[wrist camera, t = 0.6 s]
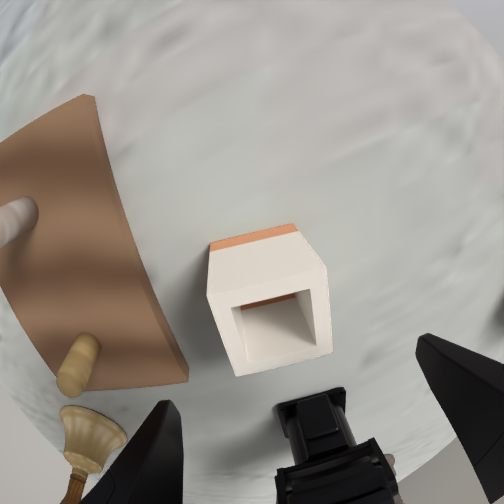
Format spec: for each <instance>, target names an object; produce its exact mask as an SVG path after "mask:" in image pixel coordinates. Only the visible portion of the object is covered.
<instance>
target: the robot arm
mask: <svg viewBox="0 0 504 504" xmlns="http://www.w3.org/2000/svg"><path fill="white" fill-rule="evenodd" d="M415 354H416V358H417V361H418V363H419V365H420V367H421V369H422V371H423V373H424V376H425V378H426V380H427V382H428V384H429V386H430V389H431V390H432V392H433V394H434V396H435V397H436V399H437V401H438V402H439V404H440V406H441V408H442V409H443V411H444V413H445V415H446V416H447V418H448V420H449V422H450V424H451V425H452V427H453V429H454V431H455V433H456V435H457V436H458V438H459V440H460V442H461V444H462V446H463V448H464V450H465V452H466V454H467V455H468V458H469V460H470V462H471V464H472V466H473V468H474V470H475V472H476V475H477V477H478V479H479V481H480V483H481V485H482V487H483V490H484V492H485V494H486V497H487V498H488V501H489V503H490V504H492V503H494V502H495V501H497V500H498V499H499V498H500V497H502V496H503V495H504V364H502V363H500V362H498V361H495V360H493V359H490V358H488V357H486V356H483V355H481V354H478V353H476V352H473V351H471V350H469V349H466V348H464V347H461V346H459V345H457V344H454V343H452V342H449V341H447V340H444V339H442V338H440V337H437V336H435V335H432V334H430V333H426V334H424V335H422V336H420V337H419V338H418V342H417V347H416V352H415ZM345 403H346V391H345V389H344V387H340V388H336V389H333V390H330V391H327V392H323V393H320V394H316V395H313V396H309V397H306V398H302V399H298V400H294V401H290V402H286V403H282V404H279V405H278V406H277V411H278V414H279V418H280V421H281V425H282V428H283V432H284V435H285V437H286V438H289V441H290V445H291V450H292V454H293V458H294V462H295V466H291V467H287V468H279V469H277V475H276V476H275V483H276V489H277V500H276V504H395V502H394V499H393V497H395V496H397V495H398V485H397V482H396V478H395V476H394V473H393V471H392V469H391V467H390V465H389V463H388V461H387V460H386V458H385V456H384V454H383V453H382V451H381V449H380V447H379V445H378V444H377V442H376V440H375V438H374V437H373V438H371V439H368V441H366V442H364V443H361V444H359V445H357V444H356V441H355V439H354V436H353V434H352V432H351V429H350V427H349V424H348V422H347V419H346V417H345ZM183 462H184V452H183V439H182V426H181V416H180V413H179V411H178V410H177V408H176V407H175V405H174V404H173V402H172V401H171V400H161V401H159V402H158V403H157V405H156V406H155V407H154V409H153V410H152V411H151V413H150V414H149V415H148V417H147V418H146V419H145V421H144V422H143V423H142V425H141V426H140V427H139V429H138V430H137V432H136V433H135V434H134V436H133V437H132V438H131V440H130V441H129V442H128V444H127V445H126V446H125V448H124V449H123V450H122V452H121V453H120V454H119V456H118V457H117V458H116V460H115V461H114V462H113V464H112V465H111V466H110V468H109V469H108V470H107V471H106V473H105V474H104V475H103V477H102V478H101V479H100V480H99V481H98V483H97V484H96V485H95V486H94V488H92V489H91V491H90V492H89V493H88V494H87V495H86V496H85V497H84V498H83V499H82V500H81V501H80V502H79V503H78V504H183Z"/></svg>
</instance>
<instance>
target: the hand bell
mask: <svg viewBox="0 0 504 504" xmlns="http://www.w3.org/2000/svg"><path fill="white" fill-rule="evenodd" d="M60 418H61V421H62V423H63V425H64V428H65V436H66V439H65V448H64V457H65V459H66V460H67V461H68V462H69V463H70V464H71V465H72V467H73V469H72V474H71V475H70V478H71V479H70V481H69V485H68V490H67V493H66V496H65V497H64V499H63V500H62V502H61V503H60V504H78V503H79V502H80V501H81V497H82V493H83V489H84V486H85V485H84V484H85V483H86V480H87V477H88V474H90V473H100V472H101V471H102V470H103V467H104V465H105V462H106V460H107V458H108V456H109V455H110V454H111V452H112V451H114V450H115V449H116V448H119V447H121V446H123V445H124V444H125V443H126V441H127V437H126V434H125V432H124V431H123V430H122V429H121V428H120V427H119V426H118V425H117V424H116V423H114V422H113V421H112V420H110V419H108V418H107V417H105V416H103V415H101V414H99V413H97V412H95V411H92V410H90V409H87V408H83V407H79V406H65V407H63V408H62V409H61V410H60Z"/></svg>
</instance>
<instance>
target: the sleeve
mask: <svg viewBox="0 0 504 504" xmlns="http://www.w3.org/2000/svg"><path fill="white" fill-rule="evenodd" d="M207 299H208V302H209V305H210V308H211V310H212V313H213V316H214V319H215V322H216V325H217V327H218V330H219V333H220V336H221V338H222V341H223V344H224V346H225V349H226V352H227V354H228V357H229V360H230V362H231V365H232V368H233V370H234V373H235V375H236V377H238V376H243V375H247V374H252V373H257V372H261V371H266V370H270V369H275V368H279V367H283V366H287V365H291V364H295V363H299V362H302V361H306V360H310V359H313V358H317V357H320V356H324V355H327V354H330V353H333V349H332V331H331V316H330V303H329V291H328V280H327V269H326V266H325V265H324V264H323V262H322V261H321V260H320V258H319V257H318V256H317V254H316V253H315V252H314V250H313V249H312V248H311V246H310V245H309V244H308V242H307V241H306V240H305V239H304V237H303V236H302V235H301V233H300V232H299V231H298V229H297V228H296V227H295V226H294V224H293V223H292V224H288V225H283V226H279V227H275V228H271V229H266V230H262V231H258V232H253V233H249V234H245V235H241V236H237V237H232V238H228V239H224V240H220V241H216V242H212V243H210V255H209V268H208V281H207Z"/></svg>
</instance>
